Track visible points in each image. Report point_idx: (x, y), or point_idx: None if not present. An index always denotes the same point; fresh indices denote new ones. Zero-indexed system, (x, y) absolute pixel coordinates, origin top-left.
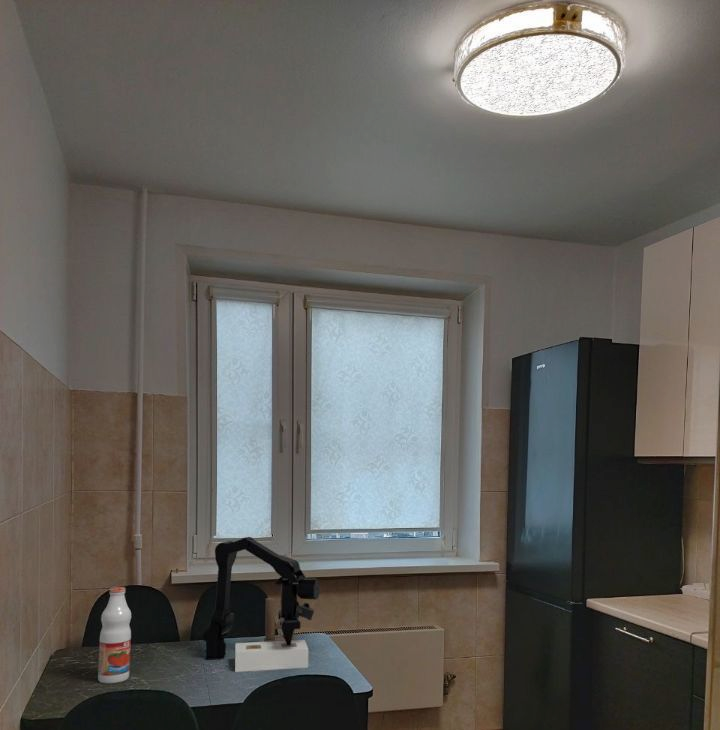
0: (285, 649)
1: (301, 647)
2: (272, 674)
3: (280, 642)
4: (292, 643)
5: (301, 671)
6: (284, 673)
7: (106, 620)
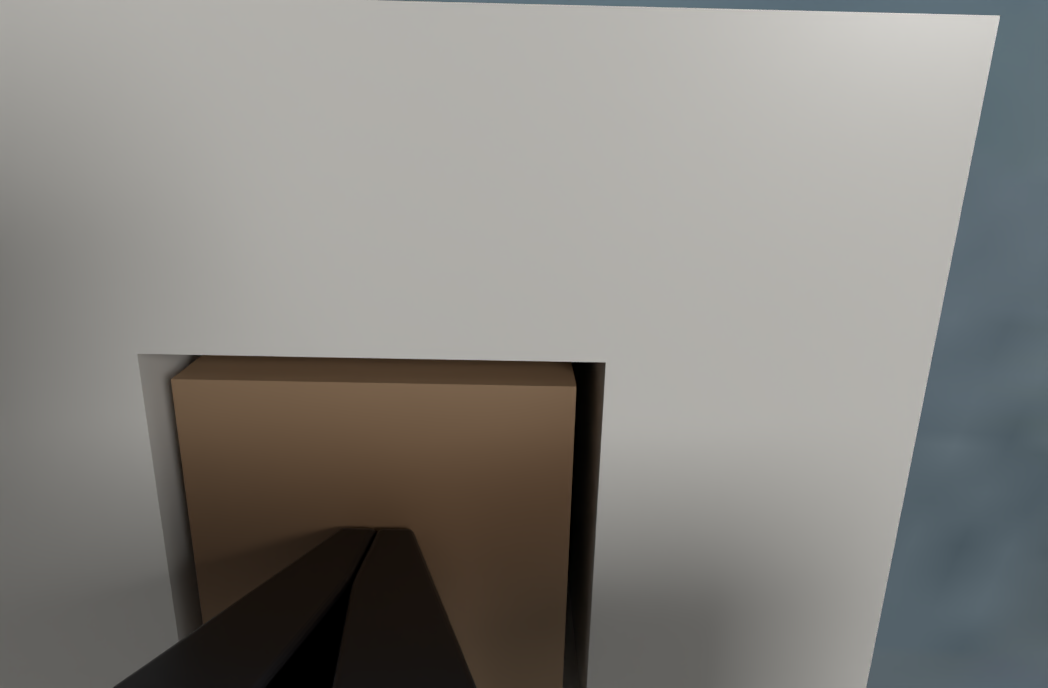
0: (820, 677)
1: (756, 234)
2: (933, 648)
3: None
4: (209, 449)
5: (962, 215)
6: (956, 491)
7: None
